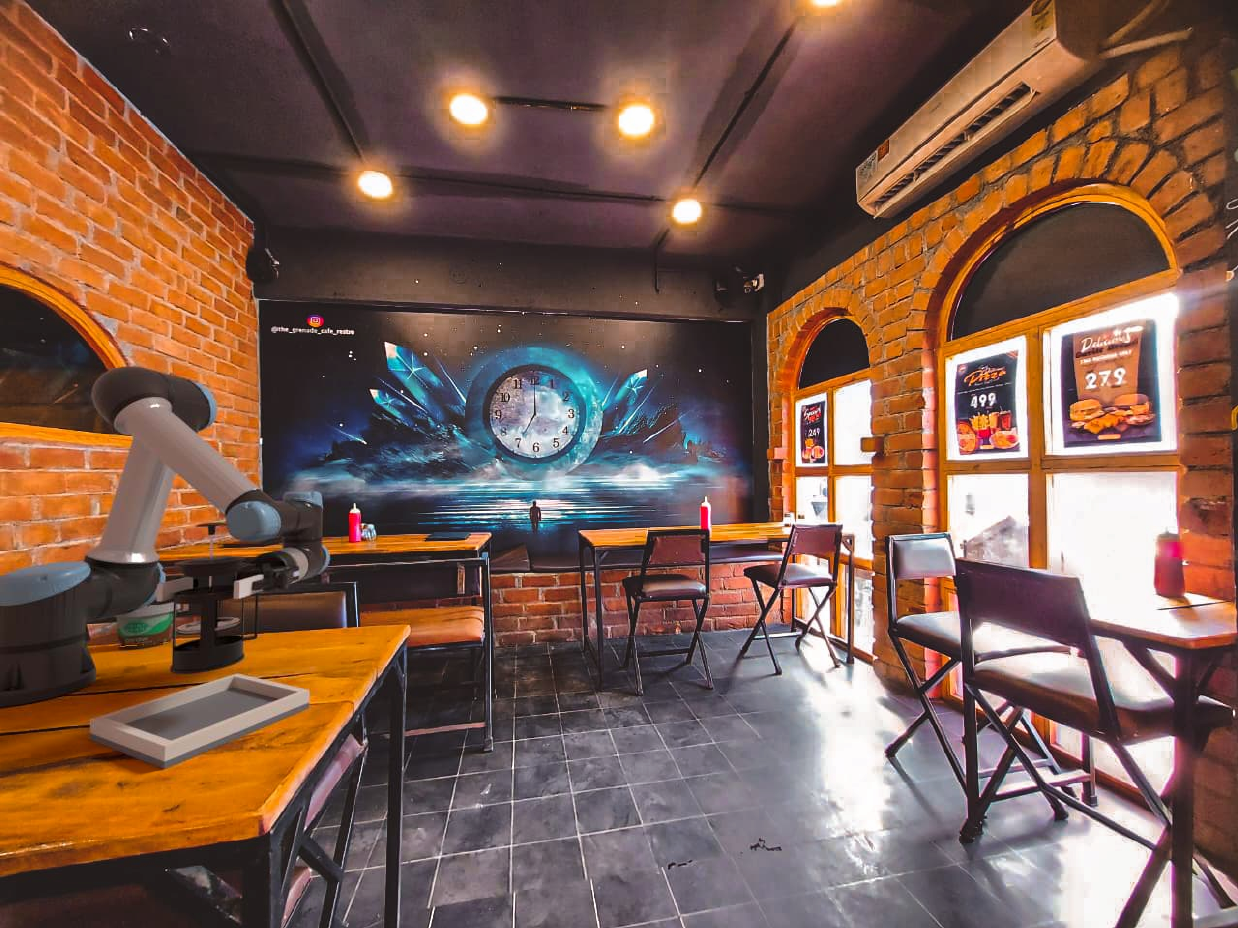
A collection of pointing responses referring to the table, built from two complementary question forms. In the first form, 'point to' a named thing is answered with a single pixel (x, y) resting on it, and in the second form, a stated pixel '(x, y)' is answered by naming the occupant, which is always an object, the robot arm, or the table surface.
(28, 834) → the table surface
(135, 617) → the food container
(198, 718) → the serving tray
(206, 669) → the french press
